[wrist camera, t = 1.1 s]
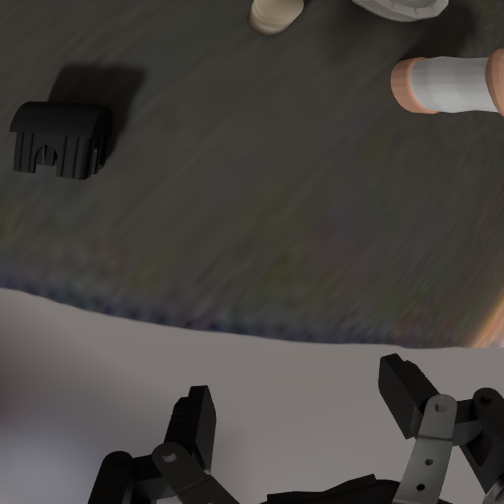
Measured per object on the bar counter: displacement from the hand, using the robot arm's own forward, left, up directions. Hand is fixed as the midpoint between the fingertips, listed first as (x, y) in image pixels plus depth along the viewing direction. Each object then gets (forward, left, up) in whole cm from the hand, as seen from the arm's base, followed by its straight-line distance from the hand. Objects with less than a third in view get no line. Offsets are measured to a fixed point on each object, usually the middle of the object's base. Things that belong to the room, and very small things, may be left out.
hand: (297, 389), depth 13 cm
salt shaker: (+5, +28, -24) cm, 37 cm away
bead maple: (-13, +20, -24) cm, 34 cm away
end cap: (-22, -3, -24) cm, 33 cm away
